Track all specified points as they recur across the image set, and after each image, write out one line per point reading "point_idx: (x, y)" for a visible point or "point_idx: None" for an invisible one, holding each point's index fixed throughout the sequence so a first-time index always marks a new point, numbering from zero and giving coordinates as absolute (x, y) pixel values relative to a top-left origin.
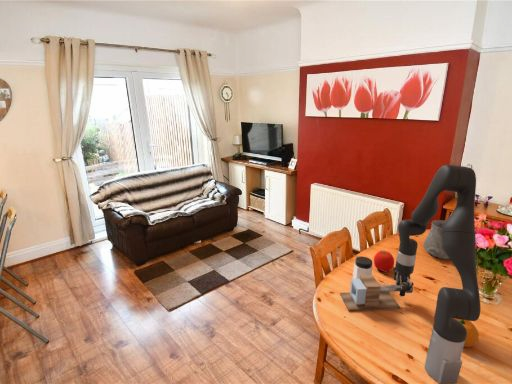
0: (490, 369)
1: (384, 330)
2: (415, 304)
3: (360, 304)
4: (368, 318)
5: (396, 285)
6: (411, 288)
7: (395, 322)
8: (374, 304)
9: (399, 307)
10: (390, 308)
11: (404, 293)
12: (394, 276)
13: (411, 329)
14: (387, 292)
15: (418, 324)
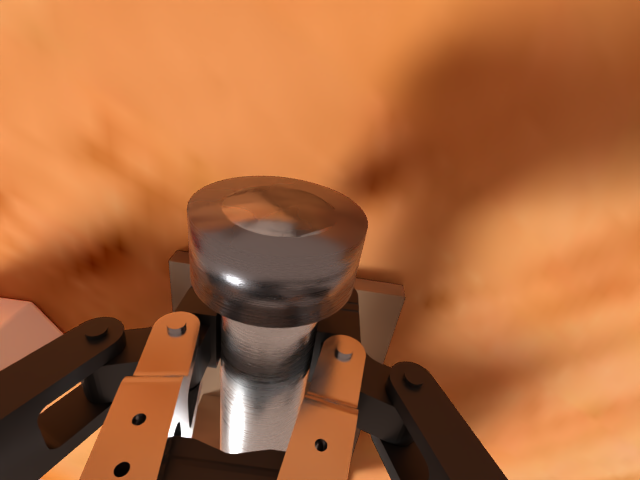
0: None
1: (519, 455)
2: (383, 103)
3: None
4: None
5: (255, 420)
6: (353, 265)
7: (498, 384)
8: None
9: (399, 305)
10: (383, 359)
11: (357, 321)
12: (68, 434)
13: (605, 341)
14: (189, 279)
15: (603, 268)
